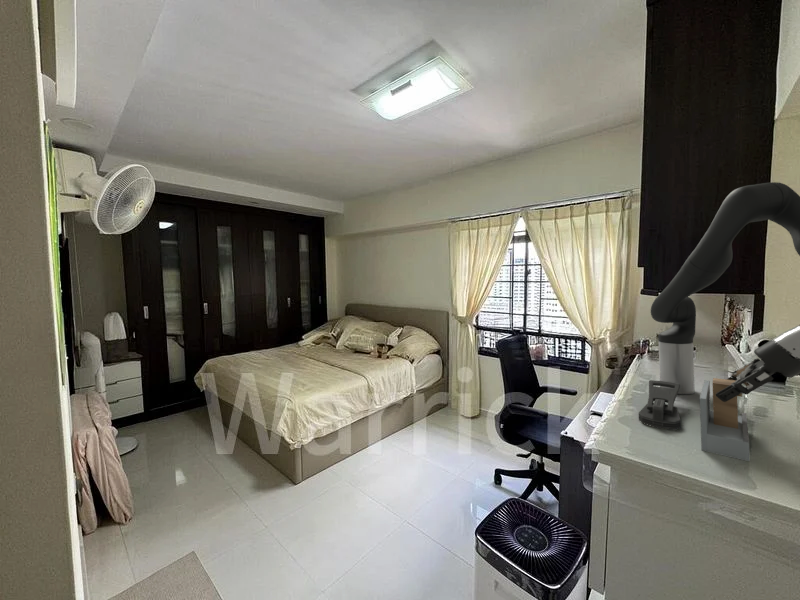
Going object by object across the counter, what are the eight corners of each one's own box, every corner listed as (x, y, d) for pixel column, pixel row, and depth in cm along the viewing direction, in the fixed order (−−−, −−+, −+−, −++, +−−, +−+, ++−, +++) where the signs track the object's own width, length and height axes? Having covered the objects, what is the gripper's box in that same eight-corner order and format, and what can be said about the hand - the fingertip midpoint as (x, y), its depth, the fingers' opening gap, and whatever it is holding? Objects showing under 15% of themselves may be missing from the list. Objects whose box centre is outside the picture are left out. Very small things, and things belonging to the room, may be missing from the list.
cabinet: (714, 417, 80) (713, 377, 80) (742, 422, 76) (741, 381, 76) (713, 424, 76) (712, 383, 76) (743, 429, 73) (741, 386, 72)
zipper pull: (682, 383, 99) (679, 407, 81) (683, 404, 100) (680, 432, 81) (646, 379, 106) (636, 400, 87) (647, 398, 106) (637, 424, 87)
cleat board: (705, 424, 85) (704, 380, 84) (746, 432, 79) (745, 384, 79) (701, 450, 72) (699, 398, 72) (749, 461, 67) (748, 405, 67)
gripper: (771, 334, 75) (705, 374, 84) (777, 342, 65) (702, 388, 74) (808, 358, 71) (735, 398, 80) (820, 372, 61) (736, 416, 70)
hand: (719, 393), depth 77 cm, fingers open, 8 cm apart
